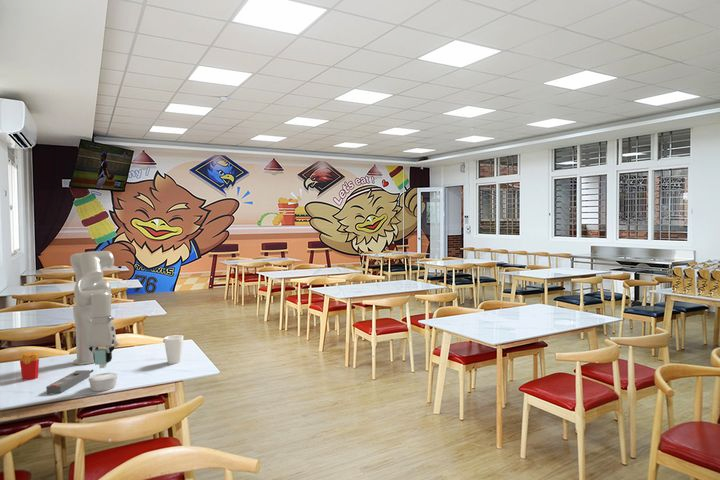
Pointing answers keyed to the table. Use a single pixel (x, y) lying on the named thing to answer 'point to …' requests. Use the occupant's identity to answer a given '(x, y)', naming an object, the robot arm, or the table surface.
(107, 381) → the ramekin
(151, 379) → the table surface
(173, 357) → the foam cup
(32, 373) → the french fries
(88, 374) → the power strip
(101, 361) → the block
